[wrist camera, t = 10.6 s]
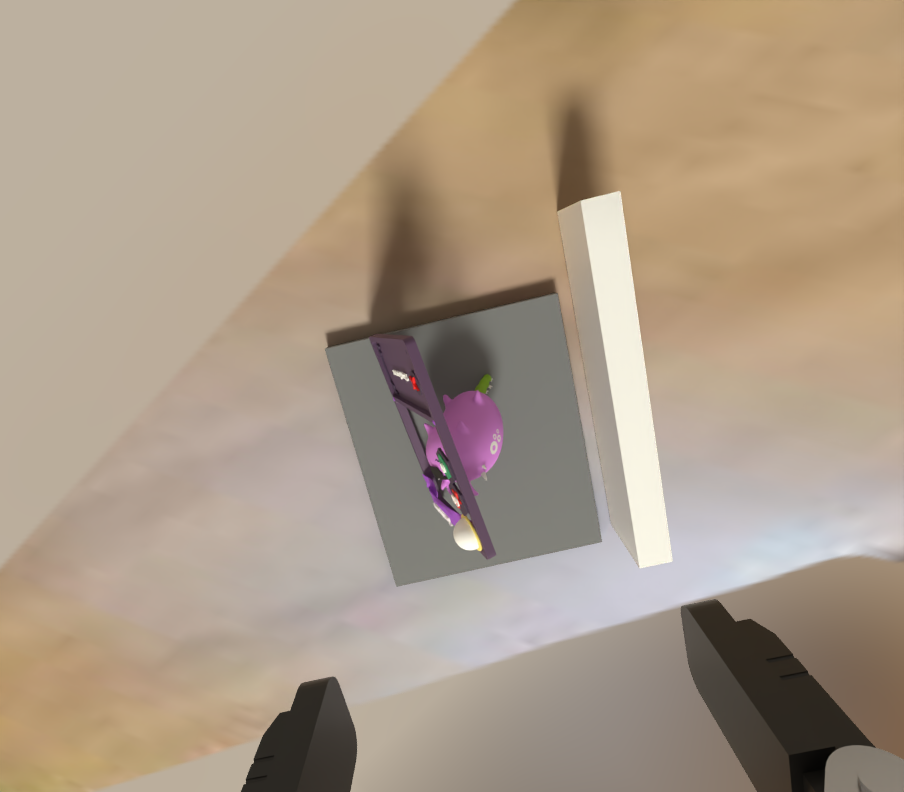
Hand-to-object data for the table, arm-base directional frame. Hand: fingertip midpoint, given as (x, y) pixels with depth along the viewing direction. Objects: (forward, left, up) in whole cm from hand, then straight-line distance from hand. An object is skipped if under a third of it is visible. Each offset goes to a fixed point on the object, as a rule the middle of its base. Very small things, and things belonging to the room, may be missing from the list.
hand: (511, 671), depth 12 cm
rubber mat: (0, 0, -15) cm, 15 cm away
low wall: (-7, -2, -15) cm, 16 cm away
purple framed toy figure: (+1, -3, -14) cm, 14 cm away
